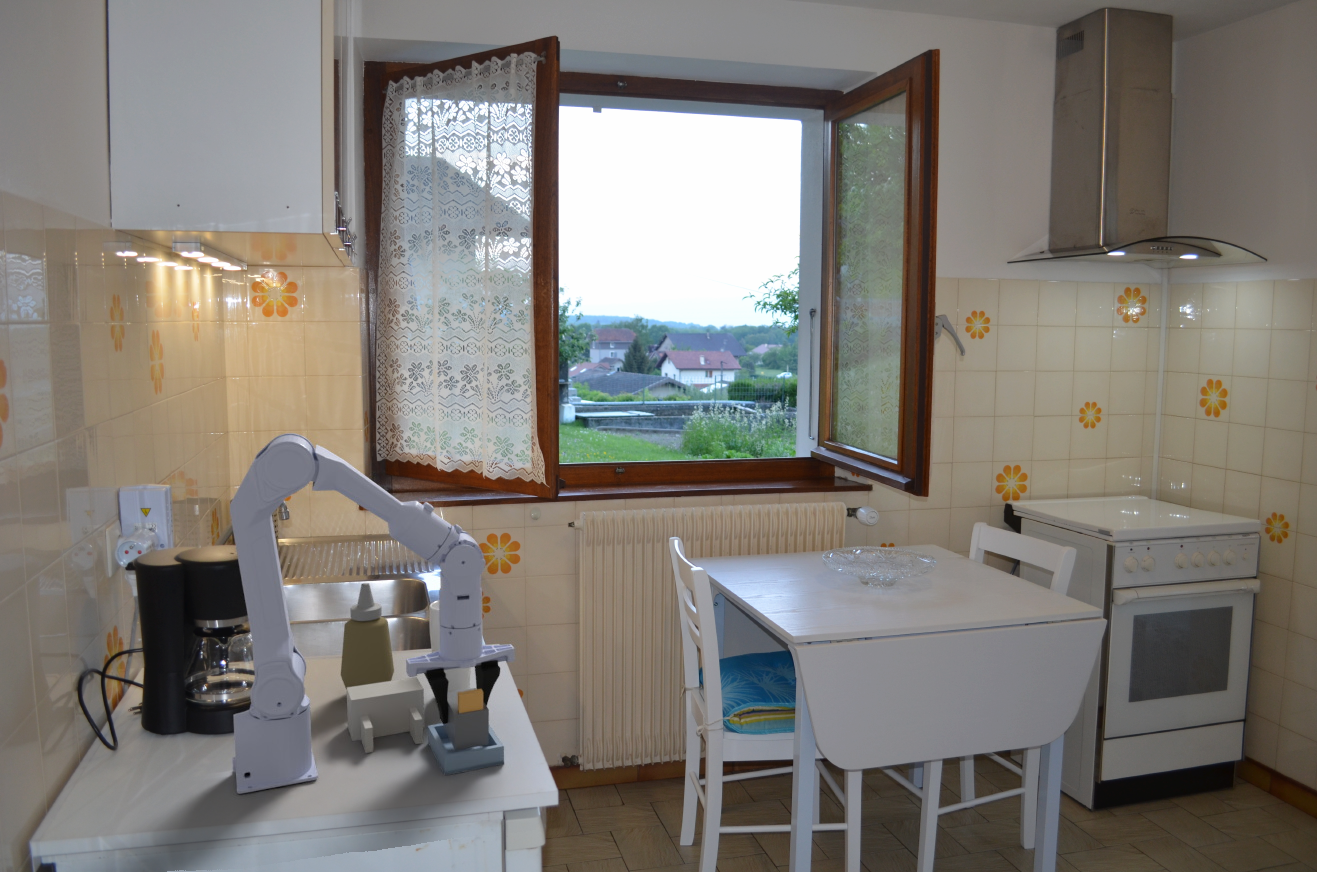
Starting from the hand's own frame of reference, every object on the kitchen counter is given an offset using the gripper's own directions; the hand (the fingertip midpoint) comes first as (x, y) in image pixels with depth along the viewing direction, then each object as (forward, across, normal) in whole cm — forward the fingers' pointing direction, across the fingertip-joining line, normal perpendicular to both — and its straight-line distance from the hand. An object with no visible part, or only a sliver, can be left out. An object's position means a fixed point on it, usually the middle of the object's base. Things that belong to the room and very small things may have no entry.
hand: (462, 717), depth 128 cm
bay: (+4, -8, +9) cm, 13 cm away
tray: (+4, 0, -2) cm, 5 cm away
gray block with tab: (+2, 0, -2) cm, 2 cm away
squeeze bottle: (+5, -9, +24) cm, 27 cm away
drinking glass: (+5, +3, +18) cm, 19 cm away
